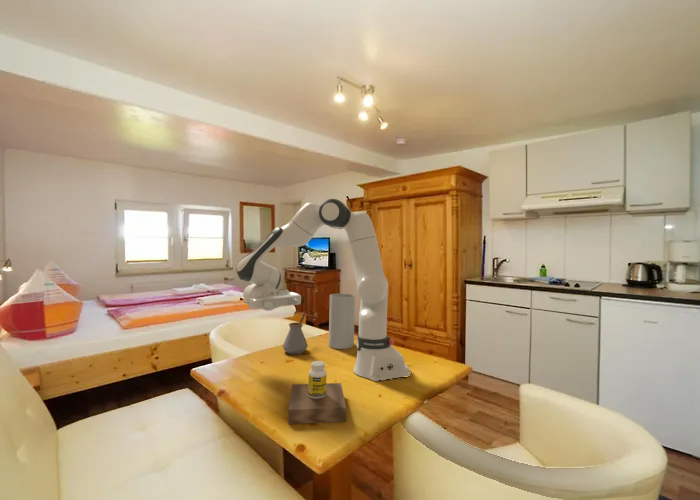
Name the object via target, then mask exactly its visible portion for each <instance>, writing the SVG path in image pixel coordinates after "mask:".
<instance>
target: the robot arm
mask: <svg viewBox="0 0 700 500" xmlns="http://www.w3.org/2000/svg"><path fill="white" fill-rule="evenodd" d="M322 226H328V227H330V228H332V229H338V230H340V229H341V230H342V229H344V230H345V232H346V234H347V238H348V243H349V247H350V251H351V257H352V262H353V268H354V276H355V283H356V289H357V294H358V296H359V298H360V305H359V312H358V313H359V314H358V334H357V338H356V349H357V353H356V360H355V363H354V368H353V372H354V373H355V375H357V376H360V377H362V378H366V379H369V380H371V381H373V382H380V381H379V380H381V381H387V380H386V379H390V380H393V379H392V378H397V377H404V376H409V375H410V374H411V375H412V373H411V372H412V371H411V369H410V367H409V366H408V365H406V361H405V357H404V356H403V355H402V353H401V352H399V351H398V350H397V349H396V348H395V347H394V345H395V340H394V339H393V338H391V337H390V336H388V335H387V325H388V322H387V321H388V304H389V303H388V302H389V301H388V299H389V298H388V297H389V282H388V279H387V277H386V276H385V272H384V267H383V262H382V256H381V252H380V247H379V243H378V238H377V234H376V231H375V227H374V225H373V222H372V219H371V217H370V216H369V214H368V213H366V212H363V211H356V212H352V210H351V208H350V207H349V206H348V205H347V204H346V203H345V202H343V201H341V200H339V199H337V198H328V199H326V200H324V201H323V202H322V203H321V204H320V205H319V204H317V203H315V202H312V201H311V202H310V201H309V202H306V203H305V204H304V205H302V207H300V209H299V210H298V211H296V213H295V214H294V216H293V217H292V218H291V220H290V221H289V222H288V223H286V224H285V225H282V227H276V228H274V229H273V230H272V231H270V233H269V234H267V235H266V236H265V237H264V238H263V239H262V240H261V241H260V242H259V243H258V244H257V245H256V246H255V247H254V248H253V249H252V250H251V251H250V252H249V253H248V254H247V255H245V256H243V257H242V258H241V259H240V260H239V262H238V264H237V265H236V267H235V268H236V269H235V271H236V274H237V277H238V278H239V279H240V280H241V281H244V282H248V283H250V284H249V285H247V286H246V287H245V288H244V289H243V292H242V293H243V294H242V296H243V299H244V301H243V302H244V304H246V305H247V306H248V308H250V309H251V310H264V311H266V312H267V311H272V310H274V309H275V310H276V309H278V308H281V307H288V306H298V305H301V303H302V296H301V294H299V293H296V292H293V291H289V289H286V288H285V289H284V288H282V289H279V287H280V285H281V281H282V276H281V275H282V273H281V272H280V269H279V268H277V267H275V266H272V265H271V264H268V263H266V262H264V261H262V259H264V257H266V255H267V254H269V252H270V251H272V250H273V249H274V248H278V247H284V246H285V247H293V248H295V247H296V248H299V247H303V246H305V245H307V244H308V243H309V242H310V241H311V239H312V238H313V237H314V235H315V234H316V233H317V231H318V230H319V229H320V228H321V227H322ZM408 372H409V373H408Z"/></svg>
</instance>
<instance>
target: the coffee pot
mask: <svg viewBox="0 0 700 500" xmlns="http://www.w3.org/2000/svg"><path fill="white" fill-rule="evenodd" d="M305 317H306V312H304V313H302V316H301V317H300V320H299V322H291V323H288V326H289V330H288V332H287V335H286V337H285V340H284V342H283V344H282V348H283V350H284V351H285V352H286V353H287V354H289V355H301V354H302V353H304V352H306V349H308V342H307V339H306V337H305V335H304V332H303V330H302V327H303V326H304V323H303V320H304V318H305Z"/></svg>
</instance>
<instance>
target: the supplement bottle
mask: <svg viewBox="0 0 700 500" xmlns="http://www.w3.org/2000/svg"><path fill="white" fill-rule="evenodd" d="M310 367H311V369H309V371H308V383H307V384H308V395H309V397H311V398H314V399H319V398H323V397H324V396H325V395H326V383H327V370H326V369H325V368H326V367H325V362H324V361H322V360H315V361H312V362H311V365H310Z"/></svg>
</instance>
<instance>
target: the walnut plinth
mask: <svg viewBox="0 0 700 500" xmlns="http://www.w3.org/2000/svg"><path fill="white" fill-rule="evenodd" d="M287 411H288V413H287V414H288V417H287V419H288V421H287V424H288V425H298V424H299V425H300V424H320V423H321V424H322V423H323V424H324V423H326V424H327V423H344V422H343V421H346V422H347V405H346V400H345V396H344V391H343V386H342V382H334V383H332V382H330V383H328V382H326V395H325V396H324V397H323V398H319V399H314V398H311V397H309V395H308V383H299V384H296V383H295V384H293V383H292V384H291V389H290V397H289V405H288V410H287Z"/></svg>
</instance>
